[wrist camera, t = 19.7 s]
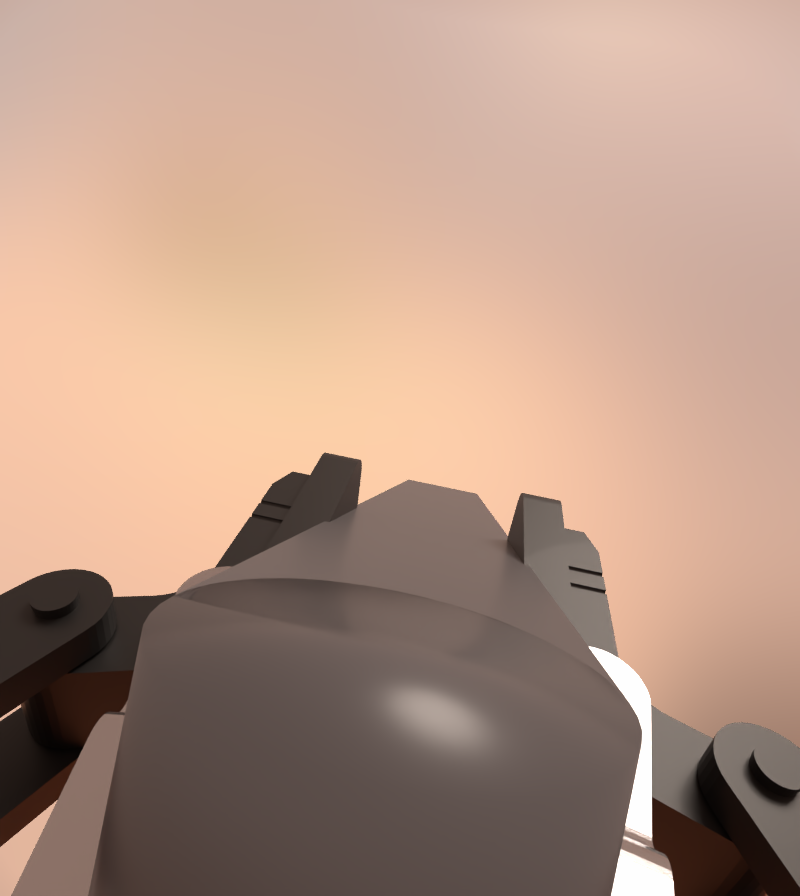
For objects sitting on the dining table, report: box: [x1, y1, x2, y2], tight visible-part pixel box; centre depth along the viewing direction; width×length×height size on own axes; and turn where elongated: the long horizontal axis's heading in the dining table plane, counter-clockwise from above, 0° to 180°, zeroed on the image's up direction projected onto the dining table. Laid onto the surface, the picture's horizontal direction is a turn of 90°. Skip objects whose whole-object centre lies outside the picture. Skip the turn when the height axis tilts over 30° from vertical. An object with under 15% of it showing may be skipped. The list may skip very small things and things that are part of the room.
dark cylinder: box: [88, 480, 643, 896], centre depth 16 cm, size 27×3×2 cm, turn 175°
